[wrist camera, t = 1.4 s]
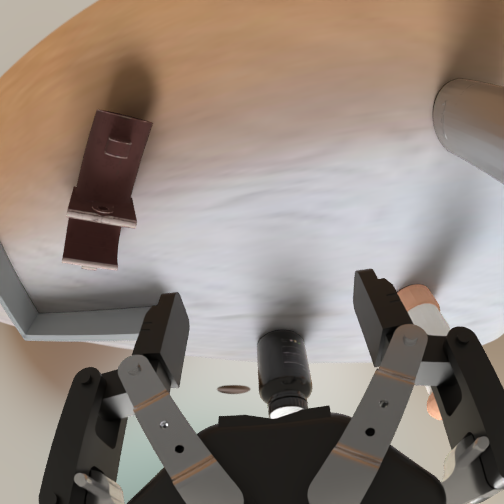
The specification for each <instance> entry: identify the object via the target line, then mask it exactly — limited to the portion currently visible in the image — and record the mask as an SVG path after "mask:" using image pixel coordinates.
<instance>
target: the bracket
mask: <svg viewBox="0 0 504 504" xmlns="http://www.w3.org/2000/svg"><path fill="white" fill-rule="evenodd" d="M152 124H153V123H152V122H148V121H145V120H142V119H138V118H134V117H130V116H126V115H122V114H118V113H114V112H109V111H104V110H99V109H97V111H96V114H95V118H94V121H93V124H92V128H91V131H90V135H89V138H88V142H87V146H86V149H85V153H84V157H83V161H82V166H81V170H80V174H79V179H78V183H77V187H74V188H73V192H72V195H71V199H70V203H69V206H68V210H67V216H66V217H69V220H68V227H67V233H66V239H65V246H64V252H63V259H62V263H68V264H74V265H81V266H82V269H88V270H96V269H97V268H102V269H110V270H117V269H118V263H117V253H118V243H119V236H120V231H121V226H122V227H128V228H133V229H135V228H136V225H137V220H136V215H135V210H134V205H133V200H132V198H131V194H132V190H133V186H134V182H135V179H136V175H137V172H138V168H139V165H140V161H141V158H142V155H143V152H144V148H145V145H146V142H147V139H148V136H149V133H150V130H151V127H152Z"/></svg>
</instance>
